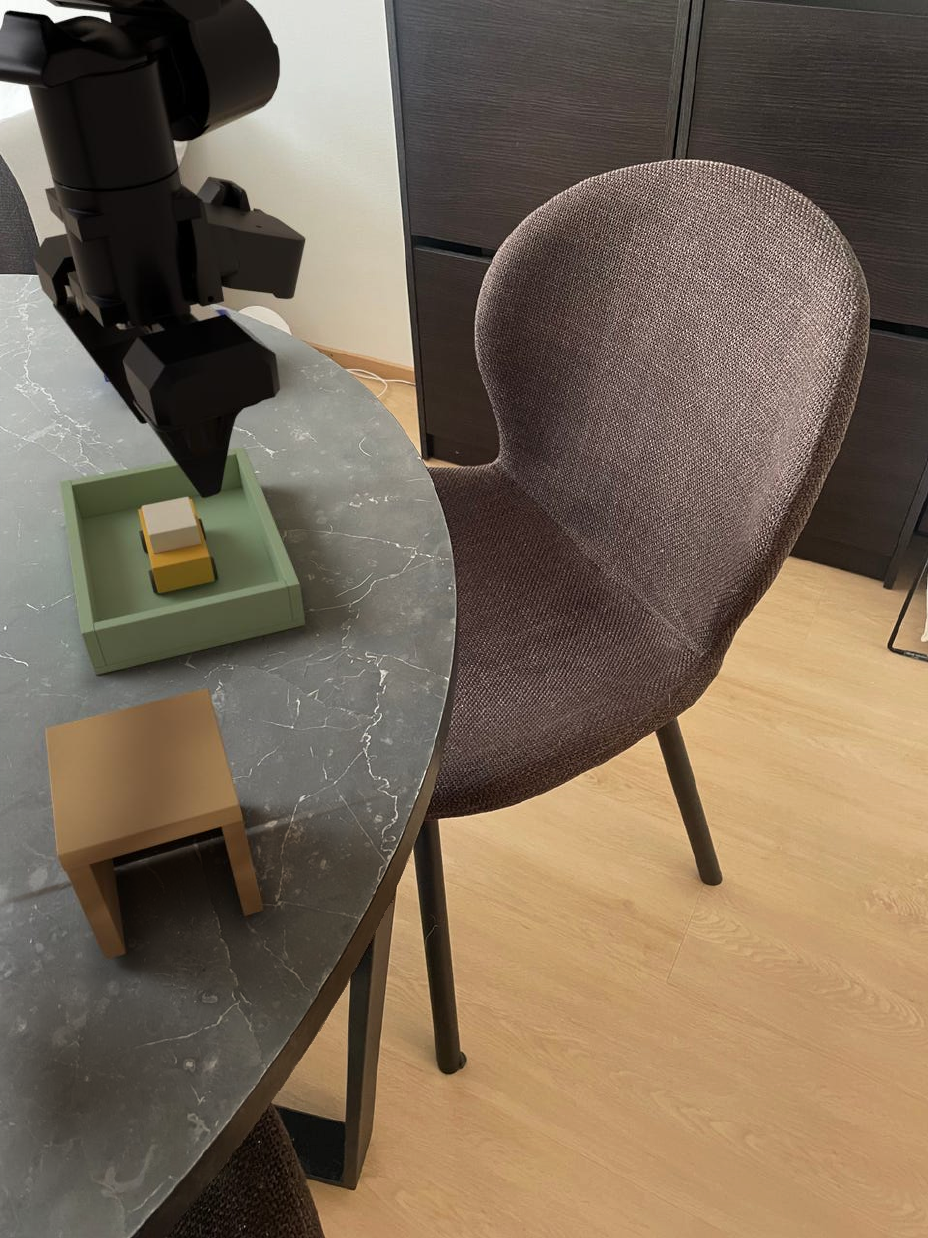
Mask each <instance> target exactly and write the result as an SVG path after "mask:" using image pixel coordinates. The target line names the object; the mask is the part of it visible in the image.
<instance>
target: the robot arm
mask: <svg viewBox="0 0 928 1238" xmlns="http://www.w3.org/2000/svg"><path fill="white" fill-rule="evenodd" d="M46 1H47V2H48V3H50V4H51V5H53V6H54V7H57V8H66V9H72V10H82V11H91V12H99V13H107V14H109V19H110V21H109V20H106V19H104V18H101V17H99V16H92V15H78V16H74V17H71V18H67V19H64V20H59V21H57V22H54V21H53V19H52V18H51V17H50V16H48V15H46V14H43V13H35V12H27V11H19V10H11V9H10V10H6V11H5V12H4V14H3V19H2V24H1V26H0V82H2V83H10V84H16V85H23V86H27V88H28V90H29V94H30V95H29V96H30V99H31V103H32V106H33V109H34V114H35V117H36V121H37V125H38V130H39V133H40V136H41V140H42V141H41V142H42V144H43V149H44V152H45V156H46V160H47V164H48V167H49V172H50V175H51V179H52V184H53V187H48V188H45V189H44V191H45V195H46V199H47V202H48V207H49V210H50V212H51V213H53V215H54V216H55V217H57V219H58V220H59V221H60V222H61V223H62V224H63V225H64V229H65V233H63V234H57V235H54V236H48V237H45V238H44V240H43V241H42V243H41V244H40V246H39V248H38V250H37V251H36V253H35V254H34V256H33V262H34V265H35V269H36V272H37V276H38V280H39V283H40V287H41V290H42V291H43V293H44V294H45V295H46V296H47V297H48V298H49V300H50V301H51V302H52V307H53V308H54V310H55V311H56V313H57V314H58V315H59V316H60V318H61V319H62V320H63V322H64V323H65V324H66V326H67V327H68V329H69V331H71V333H72V334H73V335H74V337H75V338H76V339H77V340H78V342H79V343H80V345H81V346H82V347H83V349H84V350H85V351H86V352H87V354H88V355H89V357H90V358H91V359H92V361H93V362H94V363H95V365H96V366H97V368H98V369H99V370H100V371H101V373H102V374H103V376H104V375H105V376H106V378H107V379H108V381H109V382H108V383H110V385H111V386H112V387H113V389H114V391H116V392H117V395H118V396H119V397H120V398H121V400H122V401H123V402H124V404H126V406H127V408H128V409H129V410H130V412H131V413H132V414H133V416H134V417H135V418H136V420H137V421H138V422H139V424H142V425H145V424H147V425H149V427H150V428H151V429H152V431H153V432H154V433H155V435H156V436H157V438H158V439H159V440H160V442H161V444H162V445H163V447H164V448H165V450H167V452H168V453H169V455H170V456H171V458H172V459H173V460H175V462H176V463H177V464H178V466H179V467H180V469H181V470H182V471H183V473H184V474H185V476H186V477H187V479H188V480H189V481H190V483H191V484H192V485H193V487H194V488H195V490H196V491H197V492H198V494H199V495H200V496H201V497H202V498H207V497H210V496H213V495H216V494H218V493H220V491H221V488H222V482H223V477H224V471H225V466H226V460H227V455H228V450H230V449H229V448H230V443H231V438H232V434H233V430H234V426H235V423H236V419H237V417H238V415H239V414H241V412H242V411H243V410H244V409H247V408H249V407H253V406H255V405H258V404H260V403H261V402H263V401H266V400H269V399H273V398H275V397H276V396H277V394H278V393H279V391H280V390H281V384H280V376H279V369H278V363H277V354H276V352H274V351H273V350H272V349H271V348H270V347H268V346H267V345H266V344H265V343H264V342H263V341H262V340H261V339H260V338H258V337H257V335H255V334H254V333H253V332H251V331H250V330H249V329H248V328H247V327H246V326H244V325H243V324H242V323H240V322H238V321H237V320H235V318H232V316H231V317H229V316H228V315H226V314H224V315H220V316H216V317H212V318H209V319H205V320H201V321H199V320H198V319H197V318H196V317H195V316H194V315H193V314H192V313H191V305H195V304H199V305H200V306H202V307H204V306H208V305H210V306H211V305H215V304H220V303H224V302H225V297H224V291H223V288H227V289H232V290H239V291H247V292H255V293H262V294H271V295H273V297H275V298H276V299H280V300H291V299H293V298H294V297H295V293H296V287H297V283H298V277H299V272H300V269H301V264H302V259H303V254H304V249H305V244H306V237H305V236H304V235H303V234H301V233H299V232H298V231H296V230H295V229H294V228H292V227H291V226H290V225H289V224H286V223H285V222H284V221H283V220H281V219H279V218H278V217H276V216H274V215H271V214H268V213H266V212H264V211H263V210H261V209H260V208H255V207H254V208H253V210H252V209H251V205H250V202H249V201H250V200H249V197H248V194H247V191H246V190H245V189H244V188H243V187H242V186H240V185H238V183H236V182H234V181H233V180H229V179H224V178H220V177H215V176H208V177H207V178H206V180H205V181H204V182H203V184H202V186H201V187H200V189H198V191H197V193H194V192H193V191H192V190H191V189H189V188H188V187H186V186H185V185H184V184H183V183H182V178H181V173H180V172H181V171H180V166H179V164H178V157H177V152H176V146H175V142H180V143H181V142H190V141H194V140H196V139H198V138H200V137H203V136H205V135H207V134H209V133H211V132H214V131H216V130H218V129H220V128H222V127H224V126H226V125H229V124H231V123H233V122H235V121H238V120H239V119H242V118H244V117H246V116H249V115H251V114H253V113H255V112H257V111H259V110H261V109H263V108H264V107H266V106H267V105H268V103H270V101H271V100H272V99H273V97H274V95H275V93H276V91H277V88H278V86H279V81H280V76H281V59H280V52H279V47H278V45H277V44H276V43H275V42H274V39H273V35H272V33H271V31H270V28H269V27H268V25H267V24H266V21H265V20H264V18H263V16H262V15H261V14H260V13H259V11H258V10H257V8H255V7H254V5H253V4H252V3H250V2H249V0H46Z"/></svg>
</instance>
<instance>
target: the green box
mask: <svg viewBox="0 0 928 1238" xmlns="http://www.w3.org/2000/svg"><path fill="white" fill-rule="evenodd" d="M59 488H60V494H61V500H62V508H63V515H64V522H65V529H66V537H67V544H68V550H69V556H70V557H69V558H70V564H71V565H70V566H71V571H72V572H71V573H72V578H73V585H74V591H75V597H76V598H75V599H76V604H77V606H76V607H77V613H78V621H79V627H80V634H81V637H82V641H83V643H84V646H85V649H86V652H87V655H88V658H89V661H90V664H91V667H92V670H93V673H94V676H99V675H103V674H107V673H111V672H116V671H119V670H124V669H128V668H132V667H136V666H141V665H145V664H149V663H153V662H157V661H161V660H165V659H170V658H174V657H178V656H182V655H186V654H187V655H188V654H190V653H195V652H198V651H204V650H206V649H211V648H215V647H219V646H224V645H227V644H232V643H237V642H240V641H244V640H248V639H249V640H250V639H253V638H257V637H261V636H265V635H270V634H274V633H279V632H282V631H286V630H290V629H291V630H292V629H295V628H299V627H303V626H305V625H306V620H305V612H304V605H303V597H302V590H301V583H300V581H299V578H298V576H297V574H296V571H295V569H294V566H293V563H292V561H291V559H290V556H289V554H288V551H287V548H286V546H285V543H284V541H283V539H282V536H281V533H280V531H279V529H278V526H277V523H276V522H275V519H274V516H273V513H272V511H271V509H270V507H269V504H268V501H267V499H266V496H265V494H264V492H263V489H262V486H261V485H260V481H259V479H258V477H257V475H256V471H255V469H254V466H253V465H252V462H251V460H250V457H249V455H248V452H247V450H246V447H244V446H243V447H238V448H231V449H228V455H227V460H226V466H225V471H224V477H223V482H222V488H221V491H220V493H218V494H216V495H213V496H210V497H207V498H202V497H201V496H200V495H199V494H198V492H197V491H196V490H195V488H194V487H193V485H192V484H191V483H190V481H189V480H188V479H187V477H186V476H185V474H184V473H183V471H182V470H181V469H180V467H179V466H178V464H177V463H176V462H175V460H174V459H173V460H168V461H163V462H158V463H152V464H147V465H142V466H137V467H130V468H125V469H121V470H116V471H110V472H104V473H99V474H93V475H88V476H84V477H83V476H82V477H78V478H73V479H67V480H62V481H59ZM184 497H189V499H192V500H193V504H194V507H195V510H196V513H197V517H198V519H201V520H202V523H203V527H204V531H205V535H206V540H205V542H206V546H207V549H208V552H209V555H210V557H213V558H214V561H215V565H216V569H217V573H218V579H217V580H215V581H213V582H208V583H204V584H199V585H195V586H190V587H186V588H181V589H177V590H172V591H168V592H163V593H154V592H153V589H152V585H151V581H150V577H149V573H148V571H149V570H152V566H151V562H150V558H149V554H148V552H147V553H145V552H144V550H143V546H142V542H141V538H140V534H139V531H141V530H143V528H142V524H141V520H140V516H139V512H138V509H142V506H144V505H149V504H154V503H159V502H164V501H169V500H174V499H179V498H184Z"/></svg>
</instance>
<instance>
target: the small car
mask: <svg viewBox="0 0 928 1238" xmlns="http://www.w3.org/2000/svg"><path fill="white" fill-rule="evenodd" d="M138 512H139V516H140V520H141V524H142V528H143V530H141V531H139V534H140V538H141V542H142V546H143V550H144V552H145V553H147V552H148V554H149V558H150V562H151V566H152V570H149V571H148V573H149V577H150V581H151V585H152V589H153V592H154V593H163V592H168V591H172V590H177V589H181V588H186V587H190V586H195V585H199V584H204V583H208V582H213V581H215V580H217V579H218V573H217V569H216V565H215V561H214V558H213V557H210V555H209V552H208V549H207V546H206V542H205V540H206V535H205V531H204V527H203V523H202V520H201V519H198V517H197V513H196V510H195V507H194V504H193V500H192V499H189V497H184V498H179V499H174V500H169V501H164V502H159V503H154V504H149V505H144V506H142V509H138Z"/></svg>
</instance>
